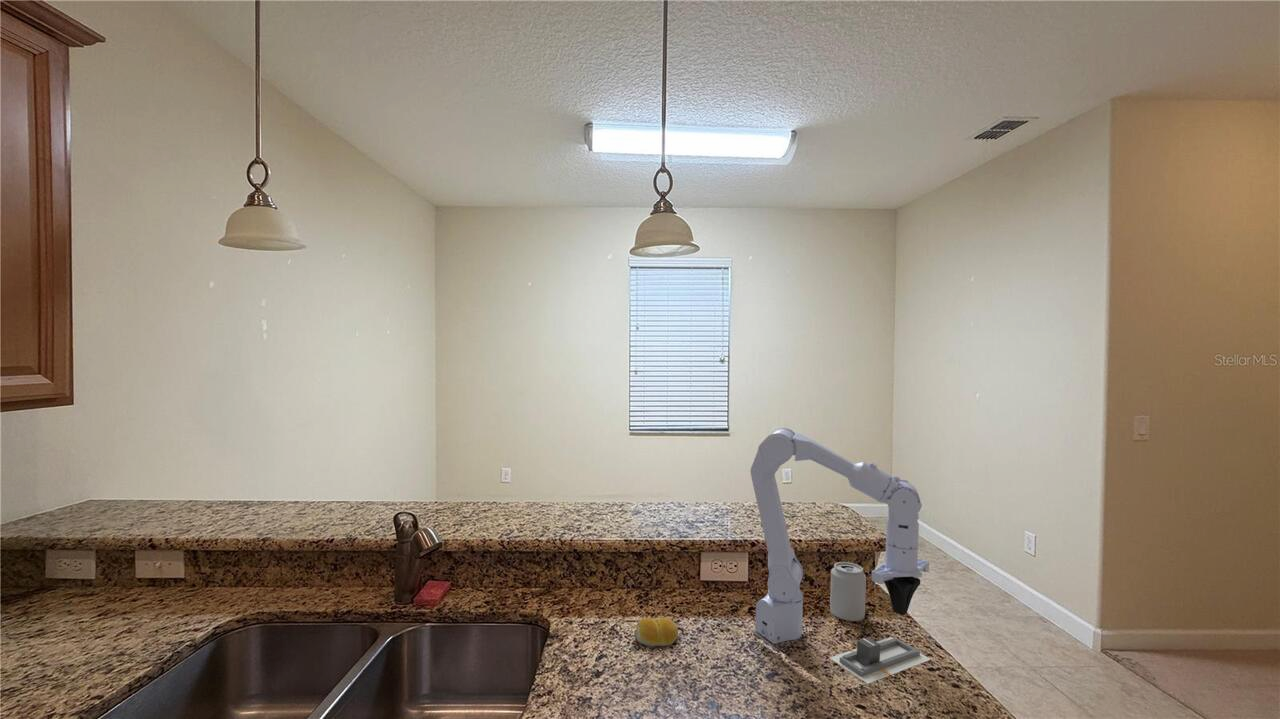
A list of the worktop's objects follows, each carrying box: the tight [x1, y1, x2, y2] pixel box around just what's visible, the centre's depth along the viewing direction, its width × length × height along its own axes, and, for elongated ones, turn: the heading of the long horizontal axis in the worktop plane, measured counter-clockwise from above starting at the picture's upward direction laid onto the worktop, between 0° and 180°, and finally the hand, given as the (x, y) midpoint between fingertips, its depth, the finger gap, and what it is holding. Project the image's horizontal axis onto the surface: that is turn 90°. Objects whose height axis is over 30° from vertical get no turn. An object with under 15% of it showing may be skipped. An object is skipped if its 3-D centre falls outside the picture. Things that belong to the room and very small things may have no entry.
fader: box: [856, 636, 880, 667], centre depth 103 cm, size 3×3×4 cm
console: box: [829, 636, 932, 685], centre depth 104 cm, size 18×9×2 cm, turn 117°
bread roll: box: [634, 616, 679, 647], centre depth 113 cm, size 8×9×4 cm
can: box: [829, 561, 867, 622], centre depth 123 cm, size 8×8×12 cm
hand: (899, 612), depth 105 cm, fingers closed
